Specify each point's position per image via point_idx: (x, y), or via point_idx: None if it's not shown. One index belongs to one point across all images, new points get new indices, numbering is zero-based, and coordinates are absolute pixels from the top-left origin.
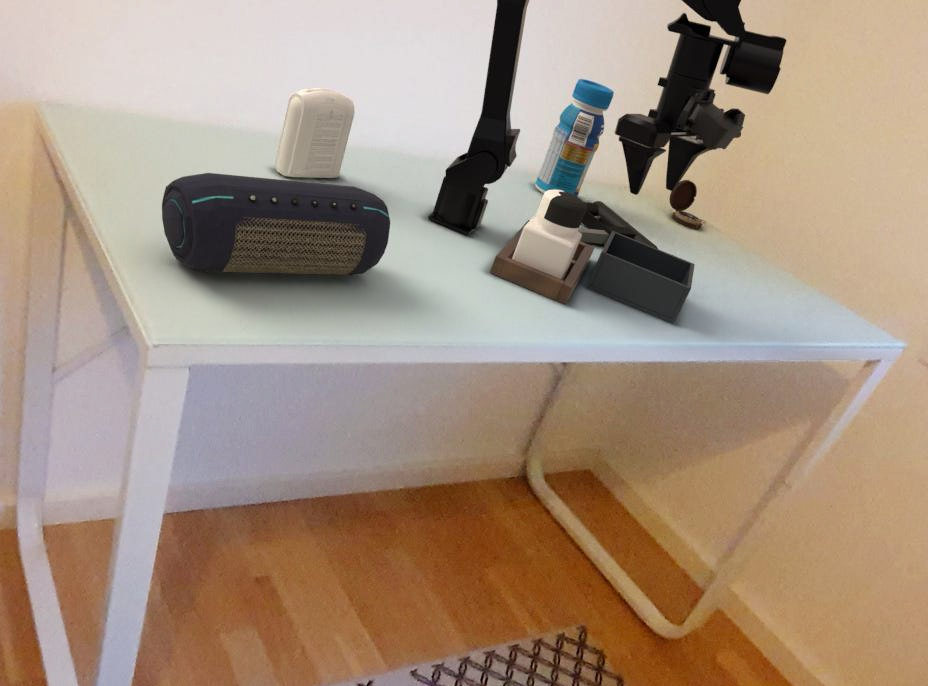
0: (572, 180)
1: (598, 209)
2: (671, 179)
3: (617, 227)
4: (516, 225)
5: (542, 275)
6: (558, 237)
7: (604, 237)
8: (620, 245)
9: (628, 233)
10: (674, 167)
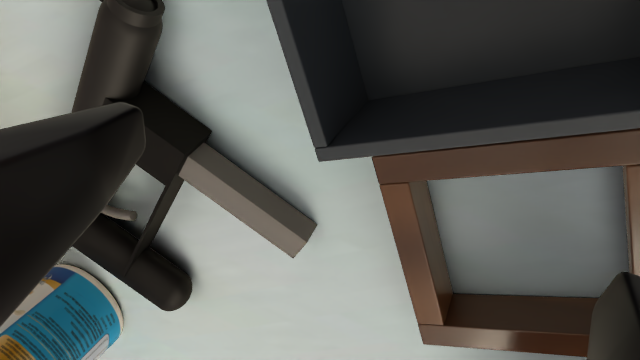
0: (58, 314)
1: None
2: (94, 174)
3: None
4: (386, 332)
5: None
6: None
7: (203, 158)
8: (332, 98)
9: None
10: (15, 240)
